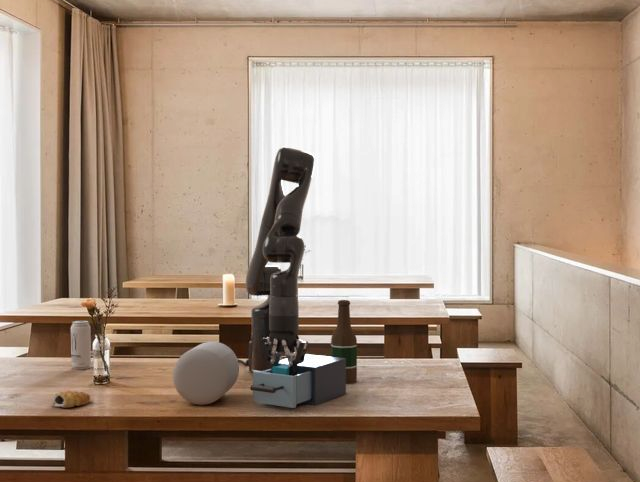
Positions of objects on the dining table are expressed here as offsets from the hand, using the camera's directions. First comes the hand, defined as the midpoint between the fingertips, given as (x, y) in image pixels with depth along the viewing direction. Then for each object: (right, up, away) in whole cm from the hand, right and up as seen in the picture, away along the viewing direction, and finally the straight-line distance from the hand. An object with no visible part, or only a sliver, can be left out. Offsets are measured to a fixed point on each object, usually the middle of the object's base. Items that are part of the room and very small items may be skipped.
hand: (284, 378), depth 214 cm
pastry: (-55, -7, 0) cm, 56 cm away
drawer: (0, -6, 0) cm, 6 cm away
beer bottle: (+16, -5, +31) cm, 35 cm away
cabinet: (+6, -6, +11) cm, 14 cm away
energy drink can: (-68, -4, +51) cm, 85 cm away
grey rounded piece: (-22, -6, +10) cm, 25 cm away
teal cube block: (0, -1, 0) cm, 1 cm away
